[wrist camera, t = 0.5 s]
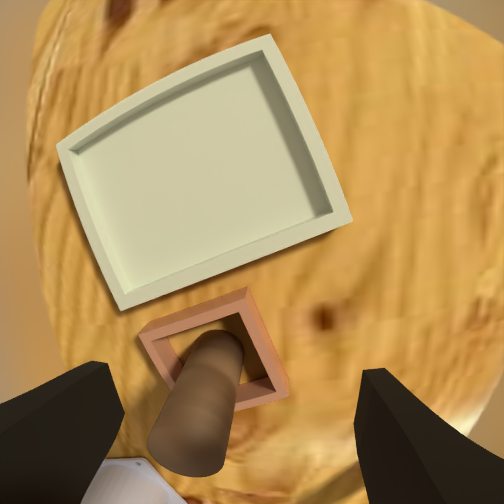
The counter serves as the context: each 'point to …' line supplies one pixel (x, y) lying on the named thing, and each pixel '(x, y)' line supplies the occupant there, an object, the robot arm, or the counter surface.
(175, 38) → the counter surface
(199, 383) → the dowel
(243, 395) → the holder
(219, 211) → the tray
